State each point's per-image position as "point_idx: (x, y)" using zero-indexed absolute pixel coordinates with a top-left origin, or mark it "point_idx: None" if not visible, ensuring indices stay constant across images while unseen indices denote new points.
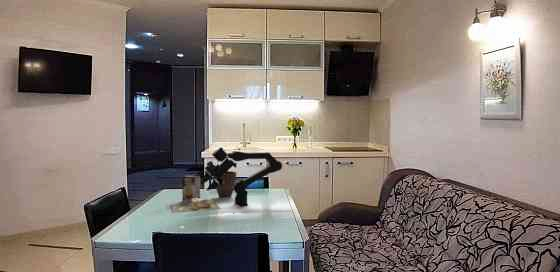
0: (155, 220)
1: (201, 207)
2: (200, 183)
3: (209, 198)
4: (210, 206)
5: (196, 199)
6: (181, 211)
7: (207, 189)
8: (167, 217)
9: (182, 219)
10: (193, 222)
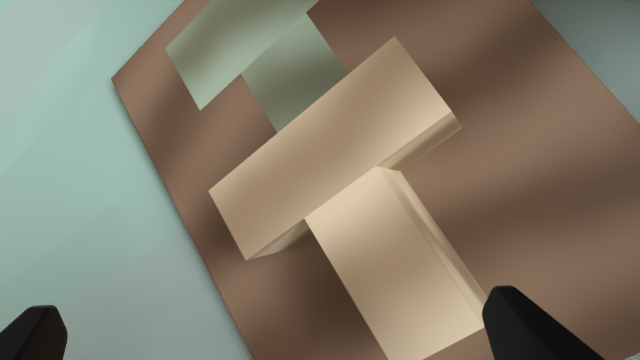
0: (9, 76)
1: None
2: (39, 313)
3: (452, 326)
4: None
5: (334, 154)
6: (158, 130)
7: (490, 313)
8: (67, 103)
9: (48, 239)
10: None
